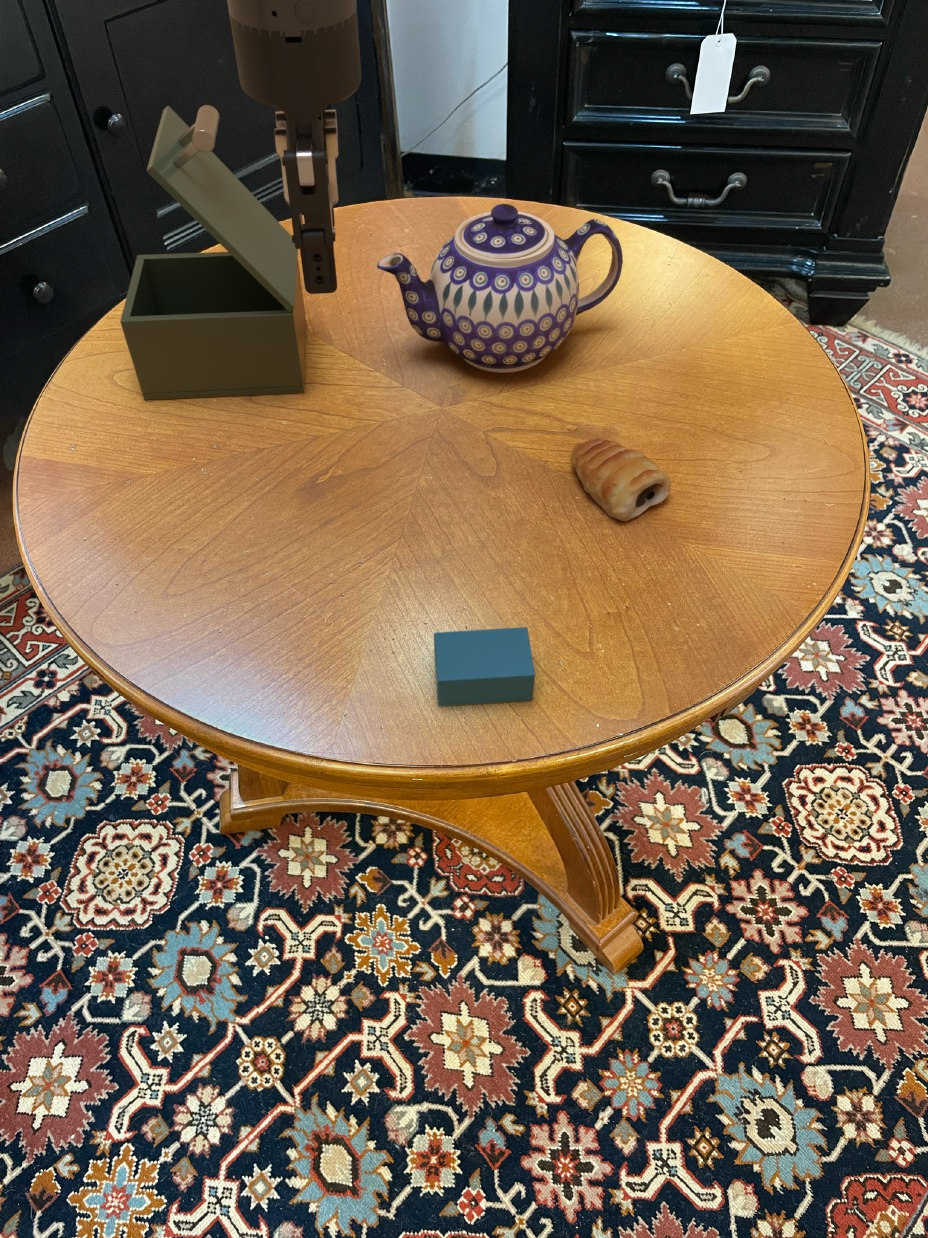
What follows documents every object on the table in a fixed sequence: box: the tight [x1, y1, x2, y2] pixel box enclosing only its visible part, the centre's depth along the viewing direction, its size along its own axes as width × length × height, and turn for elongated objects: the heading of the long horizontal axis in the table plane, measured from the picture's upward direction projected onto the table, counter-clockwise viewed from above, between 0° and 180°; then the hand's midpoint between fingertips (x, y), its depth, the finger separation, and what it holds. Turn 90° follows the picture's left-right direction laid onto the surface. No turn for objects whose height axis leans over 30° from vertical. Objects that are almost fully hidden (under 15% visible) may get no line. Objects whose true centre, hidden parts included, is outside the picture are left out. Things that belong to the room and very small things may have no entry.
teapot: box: [376, 203, 624, 374], centre depth 94 cm, size 25×15×15 cm, turn 103°
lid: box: [146, 104, 299, 312], centre depth 85 cm, size 16×12×5 cm
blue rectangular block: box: [433, 626, 536, 707], centre depth 71 cm, size 7×4×3 cm, turn 95°
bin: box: [120, 251, 308, 401], centre depth 94 cm, size 16×12×9 cm
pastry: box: [570, 437, 672, 522], centre depth 85 cm, size 9×7×4 cm
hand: (321, 258), depth 69 cm, fingers open, 8 cm apart
